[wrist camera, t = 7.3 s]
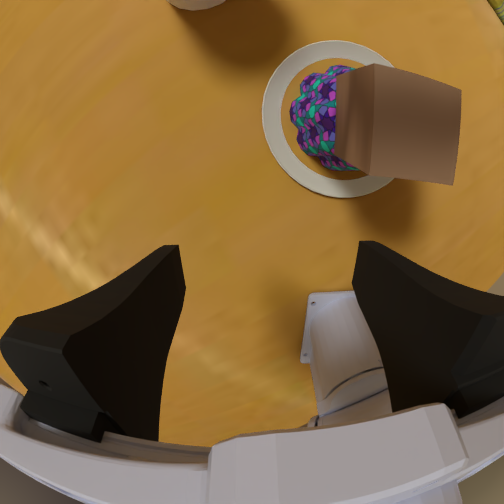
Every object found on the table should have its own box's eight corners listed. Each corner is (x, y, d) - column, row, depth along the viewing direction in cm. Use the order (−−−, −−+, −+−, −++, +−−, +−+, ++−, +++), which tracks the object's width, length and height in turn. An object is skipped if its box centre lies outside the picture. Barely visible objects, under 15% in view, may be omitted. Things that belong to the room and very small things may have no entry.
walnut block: (403, 161, 14) (452, 185, 10) (333, 154, 14) (369, 175, 10) (407, 89, 12) (461, 90, 8) (336, 76, 12) (374, 63, 8)
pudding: (434, 113, 17) (475, 120, 12) (356, 222, 22) (381, 253, 17) (319, 14, 14) (339, -12, 9) (229, 138, 19) (221, 147, 14)
